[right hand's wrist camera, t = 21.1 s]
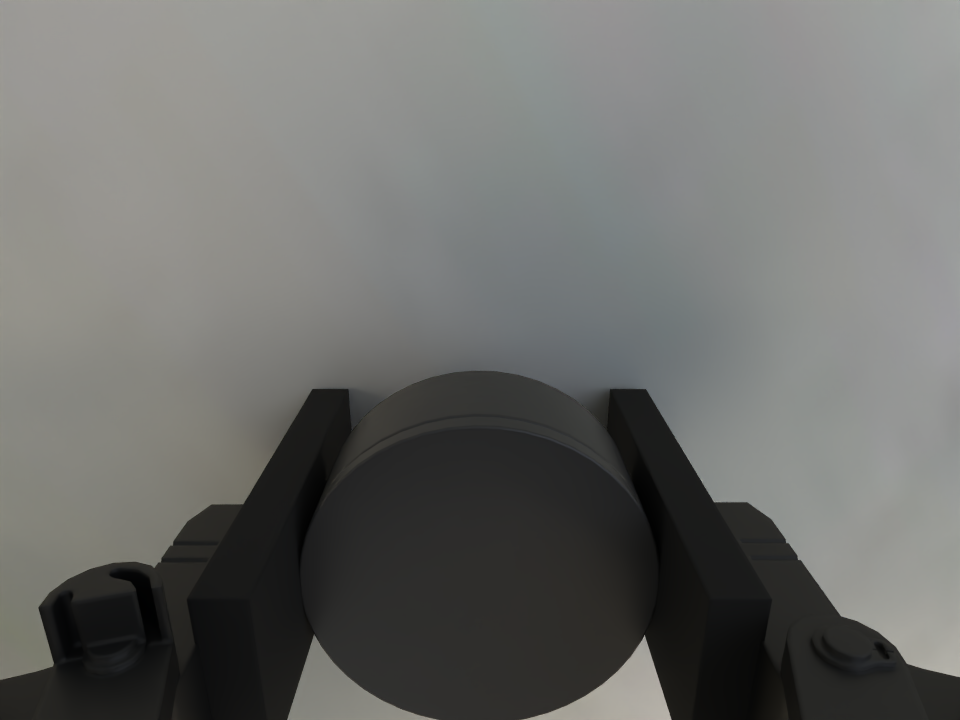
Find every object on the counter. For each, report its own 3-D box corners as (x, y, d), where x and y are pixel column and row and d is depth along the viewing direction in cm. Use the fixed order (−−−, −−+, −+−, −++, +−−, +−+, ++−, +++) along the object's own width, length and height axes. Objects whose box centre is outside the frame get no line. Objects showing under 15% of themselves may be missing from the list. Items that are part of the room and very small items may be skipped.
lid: (344, 632, 13) (319, 728, 11) (312, 373, 12) (275, 431, 9) (623, 626, 13) (649, 721, 11) (638, 364, 11) (674, 420, 9)
